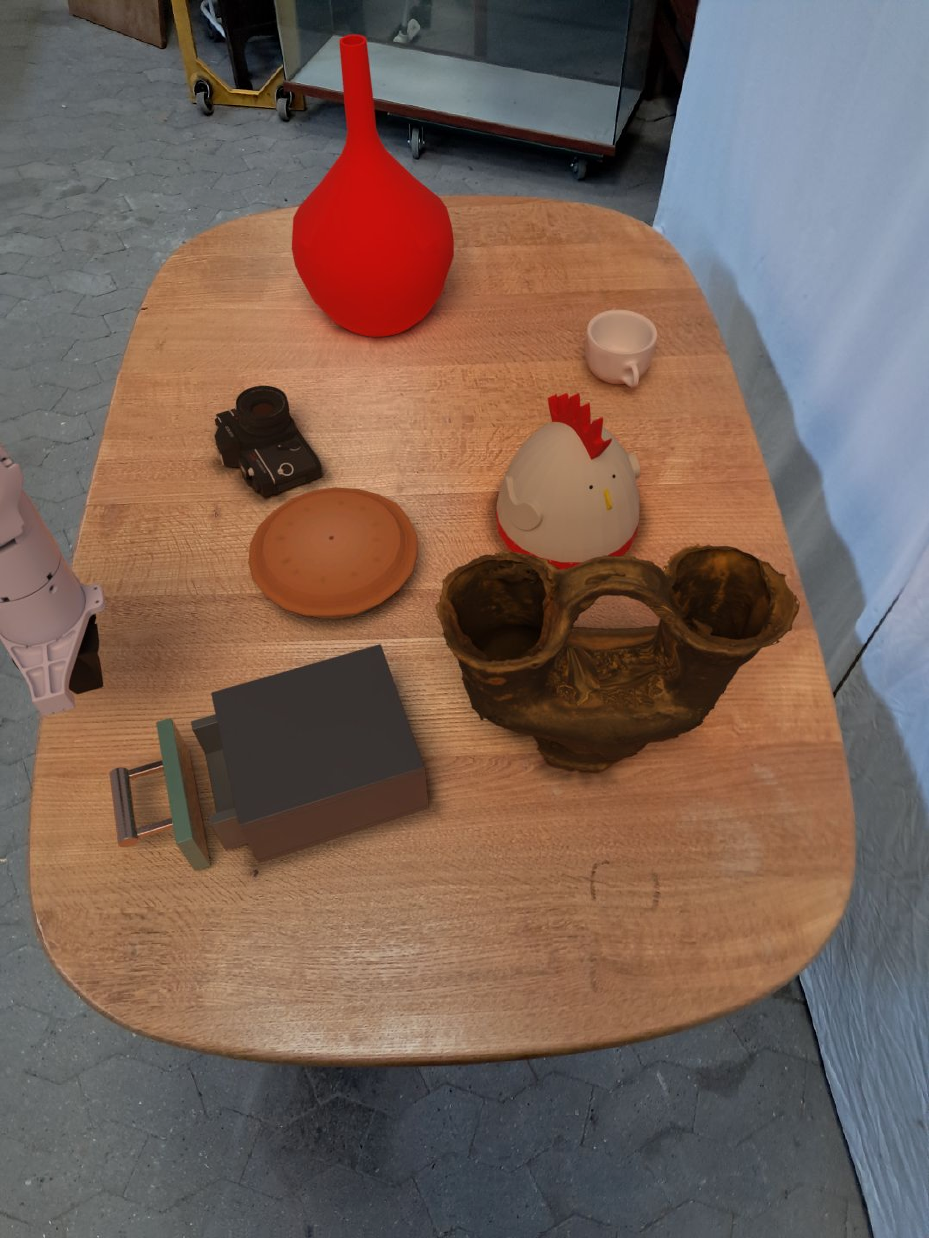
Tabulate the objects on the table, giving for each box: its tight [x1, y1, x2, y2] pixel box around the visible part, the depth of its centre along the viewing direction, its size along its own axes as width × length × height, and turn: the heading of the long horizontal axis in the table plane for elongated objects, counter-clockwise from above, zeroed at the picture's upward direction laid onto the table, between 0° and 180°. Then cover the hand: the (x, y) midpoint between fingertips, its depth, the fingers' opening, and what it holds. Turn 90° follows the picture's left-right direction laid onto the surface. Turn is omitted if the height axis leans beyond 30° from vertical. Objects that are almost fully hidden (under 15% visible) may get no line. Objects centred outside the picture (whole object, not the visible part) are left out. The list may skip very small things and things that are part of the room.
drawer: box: [109, 713, 249, 872], centre depth 69 cm, size 17×10×5 cm, turn 109°
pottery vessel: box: [434, 543, 801, 774], centre depth 68 cm, size 25×11×20 cm, turn 92°
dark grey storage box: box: [210, 643, 430, 864], centre depth 71 cm, size 14×12×7 cm
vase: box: [291, 34, 455, 338], centre depth 98 cm, size 18×18×30 cm
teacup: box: [584, 309, 658, 388], centre depth 100 cm, size 10×8×5 cm
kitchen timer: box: [495, 392, 642, 570], centre depth 83 cm, size 14×14×15 cm
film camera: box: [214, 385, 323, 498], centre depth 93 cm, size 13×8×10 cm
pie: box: [248, 486, 419, 620], centre depth 84 cm, size 16×16×5 cm
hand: (88, 683), depth 68 cm, fingers closed
